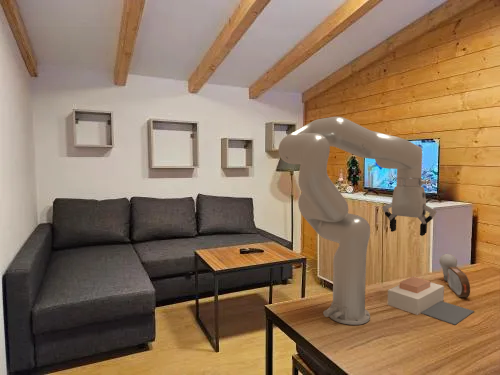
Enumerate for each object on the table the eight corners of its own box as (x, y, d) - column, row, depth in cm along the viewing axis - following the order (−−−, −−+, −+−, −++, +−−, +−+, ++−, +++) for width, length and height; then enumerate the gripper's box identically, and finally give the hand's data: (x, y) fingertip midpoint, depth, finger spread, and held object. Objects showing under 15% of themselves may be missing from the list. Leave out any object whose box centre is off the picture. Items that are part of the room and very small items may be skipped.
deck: (417, 315, 107) (418, 299, 107) (387, 304, 115) (387, 289, 115) (443, 300, 118) (444, 285, 118) (414, 291, 126) (414, 278, 126)
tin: (470, 301, 118) (471, 277, 117) (460, 300, 118) (461, 276, 118) (454, 285, 132) (455, 263, 132) (445, 284, 133) (445, 263, 132)
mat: (455, 325, 101) (455, 324, 101) (420, 313, 109) (420, 312, 109) (474, 311, 109) (474, 311, 109) (440, 301, 117) (440, 300, 117)
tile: (417, 293, 112) (417, 287, 112) (399, 288, 116) (399, 282, 116) (430, 286, 117) (430, 281, 117) (412, 282, 122) (413, 276, 122)
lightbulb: (439, 277, 141) (440, 251, 140) (457, 280, 137) (458, 253, 136) (437, 282, 136) (438, 254, 135) (455, 285, 132) (456, 257, 131)
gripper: (440, 183, 114) (438, 234, 115) (387, 181, 126) (387, 228, 127) (433, 184, 108) (431, 238, 110) (378, 182, 120) (378, 231, 122)
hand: (407, 233), depth 119 cm, fingers open, 9 cm apart
